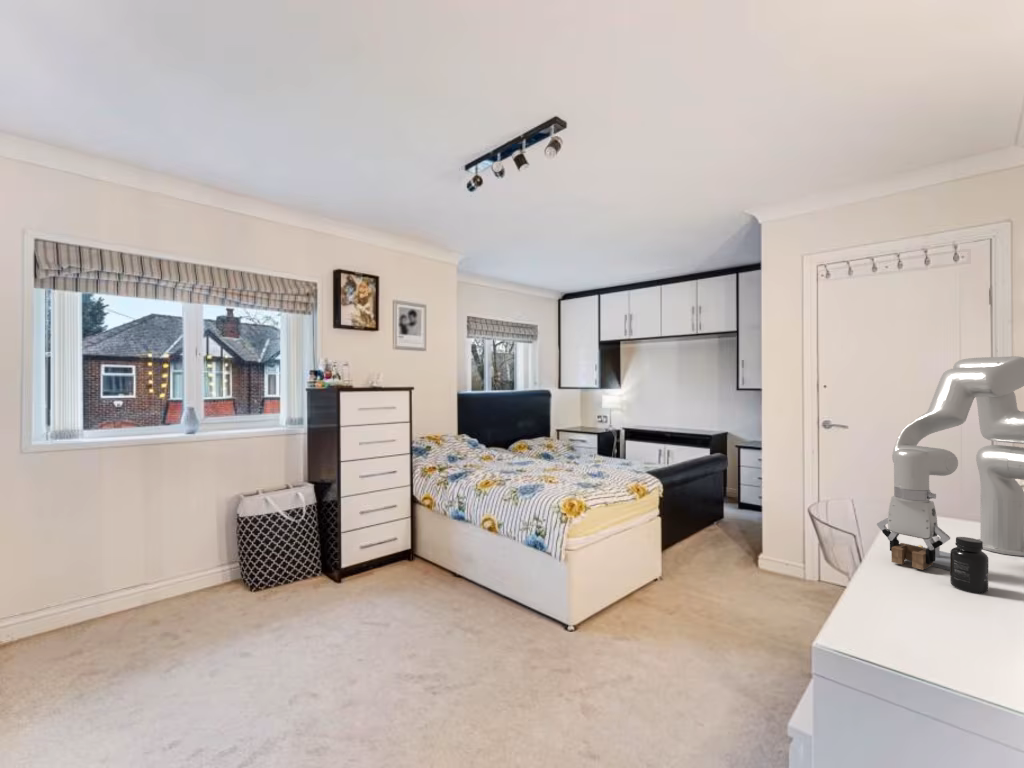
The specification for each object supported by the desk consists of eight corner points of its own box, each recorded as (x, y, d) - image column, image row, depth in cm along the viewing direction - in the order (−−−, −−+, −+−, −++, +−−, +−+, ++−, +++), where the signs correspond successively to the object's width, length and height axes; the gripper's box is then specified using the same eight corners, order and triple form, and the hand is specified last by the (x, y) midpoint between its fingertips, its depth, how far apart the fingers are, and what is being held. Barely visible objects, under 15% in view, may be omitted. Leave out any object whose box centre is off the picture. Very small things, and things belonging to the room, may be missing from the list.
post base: (917, 549, 147) (917, 527, 147) (969, 561, 137) (969, 538, 137) (898, 557, 140) (898, 535, 140) (952, 571, 130) (952, 546, 130)
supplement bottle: (996, 595, 115) (996, 544, 115) (962, 592, 116) (962, 542, 116) (974, 583, 121) (975, 536, 121) (943, 581, 123) (943, 534, 123)
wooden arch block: (932, 564, 132) (932, 549, 132) (923, 569, 129) (923, 554, 129) (901, 556, 138) (901, 542, 138) (891, 561, 134) (891, 547, 134)
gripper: (957, 498, 128) (958, 565, 128) (880, 487, 143) (880, 547, 143) (947, 502, 124) (948, 572, 124) (868, 490, 139) (869, 552, 139)
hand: (912, 558), depth 133 cm, fingers closed on wooden arch block, 7 cm apart
